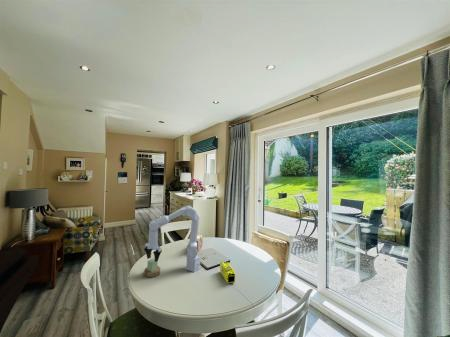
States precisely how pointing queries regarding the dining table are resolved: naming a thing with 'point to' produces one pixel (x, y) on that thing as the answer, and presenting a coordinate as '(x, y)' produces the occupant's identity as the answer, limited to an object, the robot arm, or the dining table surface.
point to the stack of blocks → (199, 242)
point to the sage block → (152, 265)
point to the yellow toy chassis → (227, 272)
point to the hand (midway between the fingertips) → (152, 259)
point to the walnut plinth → (153, 273)
